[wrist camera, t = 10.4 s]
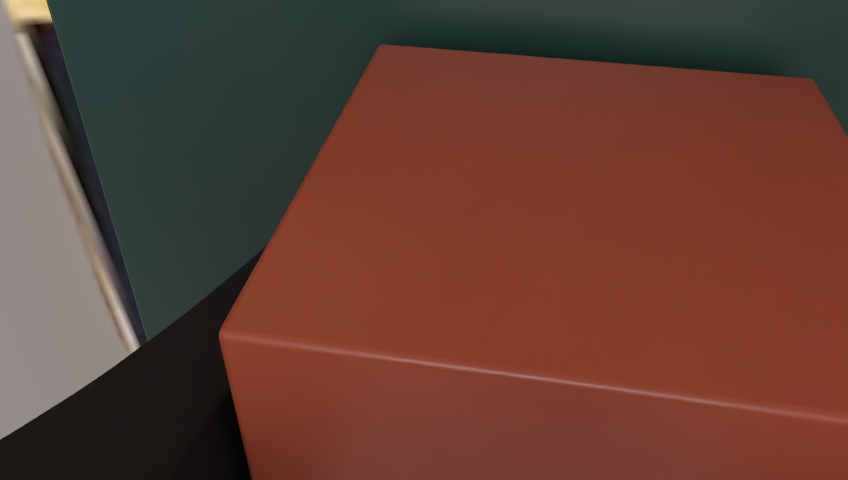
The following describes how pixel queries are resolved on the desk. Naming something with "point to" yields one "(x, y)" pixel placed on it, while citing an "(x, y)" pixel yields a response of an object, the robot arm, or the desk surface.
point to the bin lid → (340, 96)
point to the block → (554, 280)
